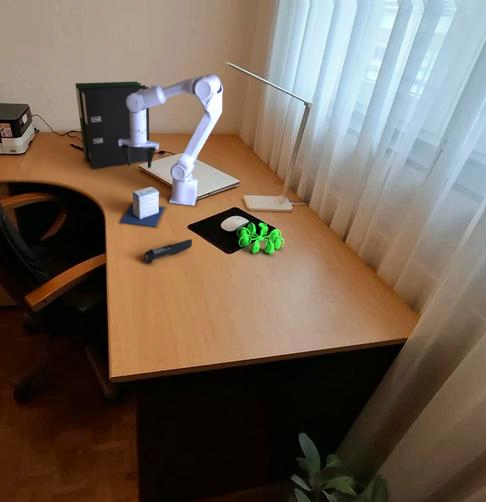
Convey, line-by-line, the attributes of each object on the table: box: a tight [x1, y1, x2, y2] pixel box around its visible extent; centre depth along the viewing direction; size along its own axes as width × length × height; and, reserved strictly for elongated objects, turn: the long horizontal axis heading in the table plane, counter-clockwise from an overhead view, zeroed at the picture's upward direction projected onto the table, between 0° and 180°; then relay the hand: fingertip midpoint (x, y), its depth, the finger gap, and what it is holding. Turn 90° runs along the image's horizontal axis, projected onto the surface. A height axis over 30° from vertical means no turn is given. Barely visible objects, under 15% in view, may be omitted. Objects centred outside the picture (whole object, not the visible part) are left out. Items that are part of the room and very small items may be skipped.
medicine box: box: [132, 186, 160, 219], centre depth 119 cm, size 8×4×9 cm, turn 129°
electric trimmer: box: [142, 238, 193, 264], centre depth 102 cm, size 4×16×3 cm, turn 122°
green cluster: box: [236, 222, 285, 255], centre depth 108 cm, size 15×15×7 cm
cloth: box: [120, 202, 165, 228], centre depth 121 cm, size 12×14×1 cm
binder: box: [74, 81, 150, 170], centre depth 154 cm, size 27×15×32 cm, turn 118°
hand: (139, 166), depth 130 cm, fingers open, 7 cm apart
